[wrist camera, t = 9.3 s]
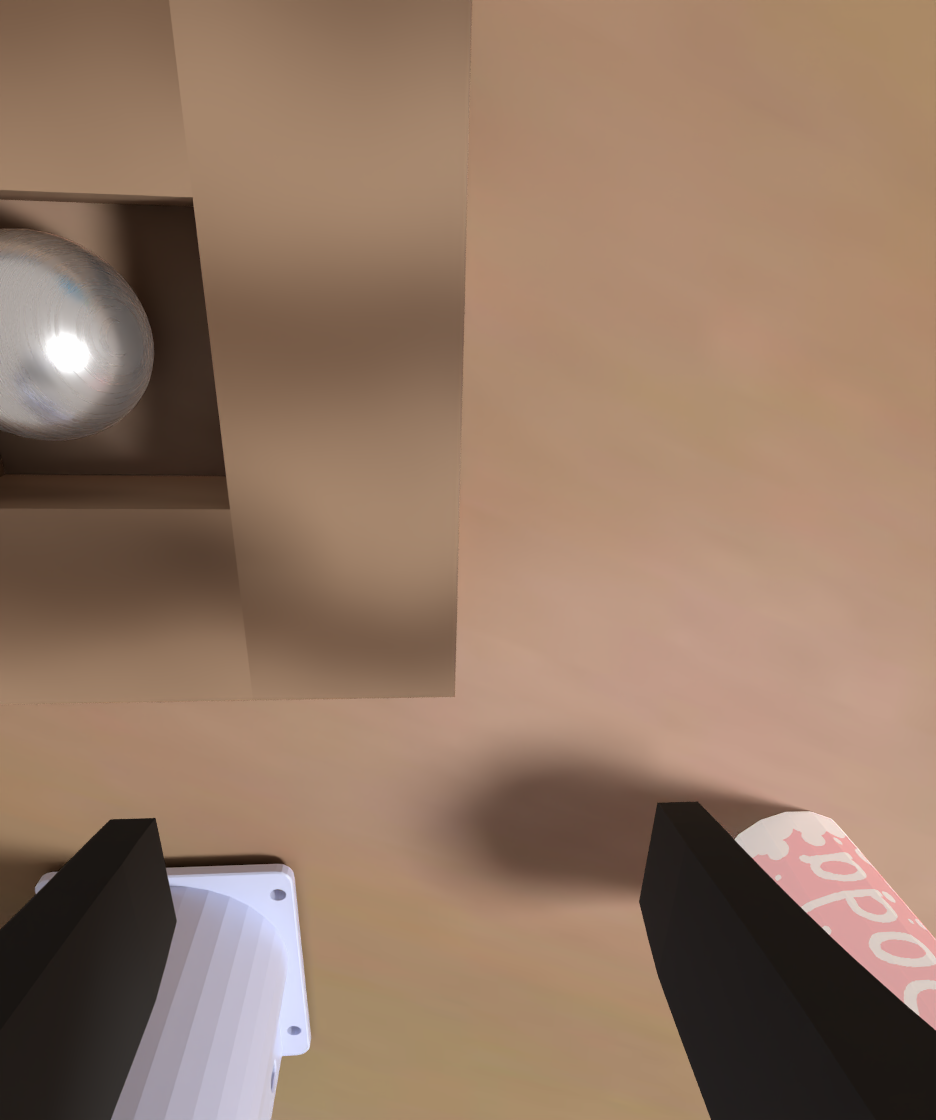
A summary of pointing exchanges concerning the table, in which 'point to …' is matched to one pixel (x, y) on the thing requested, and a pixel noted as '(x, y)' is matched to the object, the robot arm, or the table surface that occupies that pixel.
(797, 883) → the beverage cup
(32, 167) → the wooden square frame
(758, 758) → the table surface
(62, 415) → the steel ball
